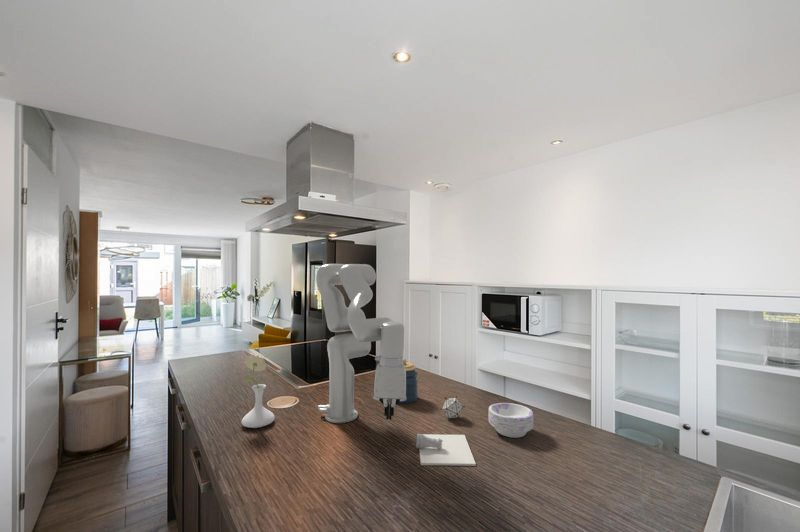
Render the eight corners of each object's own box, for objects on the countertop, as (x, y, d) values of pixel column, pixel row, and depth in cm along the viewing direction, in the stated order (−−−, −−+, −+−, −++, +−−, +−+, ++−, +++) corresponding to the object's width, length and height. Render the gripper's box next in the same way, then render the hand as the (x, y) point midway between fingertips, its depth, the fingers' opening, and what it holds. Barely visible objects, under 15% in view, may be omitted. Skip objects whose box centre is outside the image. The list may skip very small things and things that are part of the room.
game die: (456, 429, 132) (464, 415, 126) (435, 419, 134) (442, 404, 128) (461, 410, 139) (469, 396, 134) (441, 401, 141) (448, 386, 135)
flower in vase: (281, 421, 129) (282, 354, 130) (257, 433, 119) (258, 361, 120) (256, 414, 135) (257, 350, 135) (230, 426, 125) (232, 356, 125)
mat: (420, 465, 101) (420, 462, 101) (417, 435, 119) (418, 434, 119) (475, 465, 100) (475, 463, 100) (464, 436, 118) (464, 434, 118)
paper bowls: (501, 419, 133) (501, 398, 133) (540, 432, 122) (540, 409, 122) (480, 431, 122) (480, 409, 123) (520, 447, 112) (520, 422, 112)
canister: (383, 401, 150) (384, 360, 150) (395, 392, 162) (395, 354, 162) (411, 406, 145) (412, 364, 146) (421, 396, 157) (421, 357, 158)
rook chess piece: (417, 429, 111) (442, 433, 110) (416, 442, 112) (441, 445, 111) (416, 438, 107) (442, 442, 106) (415, 451, 108) (441, 455, 107)
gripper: (366, 363, 107) (364, 422, 107) (415, 365, 107) (412, 424, 107) (369, 356, 114) (366, 411, 115) (414, 358, 114) (411, 413, 115)
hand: (388, 417), depth 111 cm, fingers closed
